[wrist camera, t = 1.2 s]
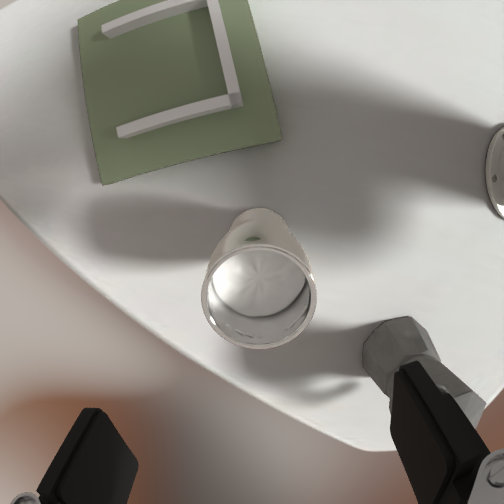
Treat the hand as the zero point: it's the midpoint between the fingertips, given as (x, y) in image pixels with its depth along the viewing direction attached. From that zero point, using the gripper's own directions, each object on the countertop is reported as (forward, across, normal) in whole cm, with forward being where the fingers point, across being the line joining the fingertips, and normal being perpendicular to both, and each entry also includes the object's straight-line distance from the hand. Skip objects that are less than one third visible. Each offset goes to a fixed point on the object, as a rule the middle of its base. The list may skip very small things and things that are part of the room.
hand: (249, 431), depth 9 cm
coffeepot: (+25, -14, +18) cm, 34 cm away
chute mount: (+25, +4, -19) cm, 31 cm away
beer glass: (+25, 0, 0) cm, 25 cm away
